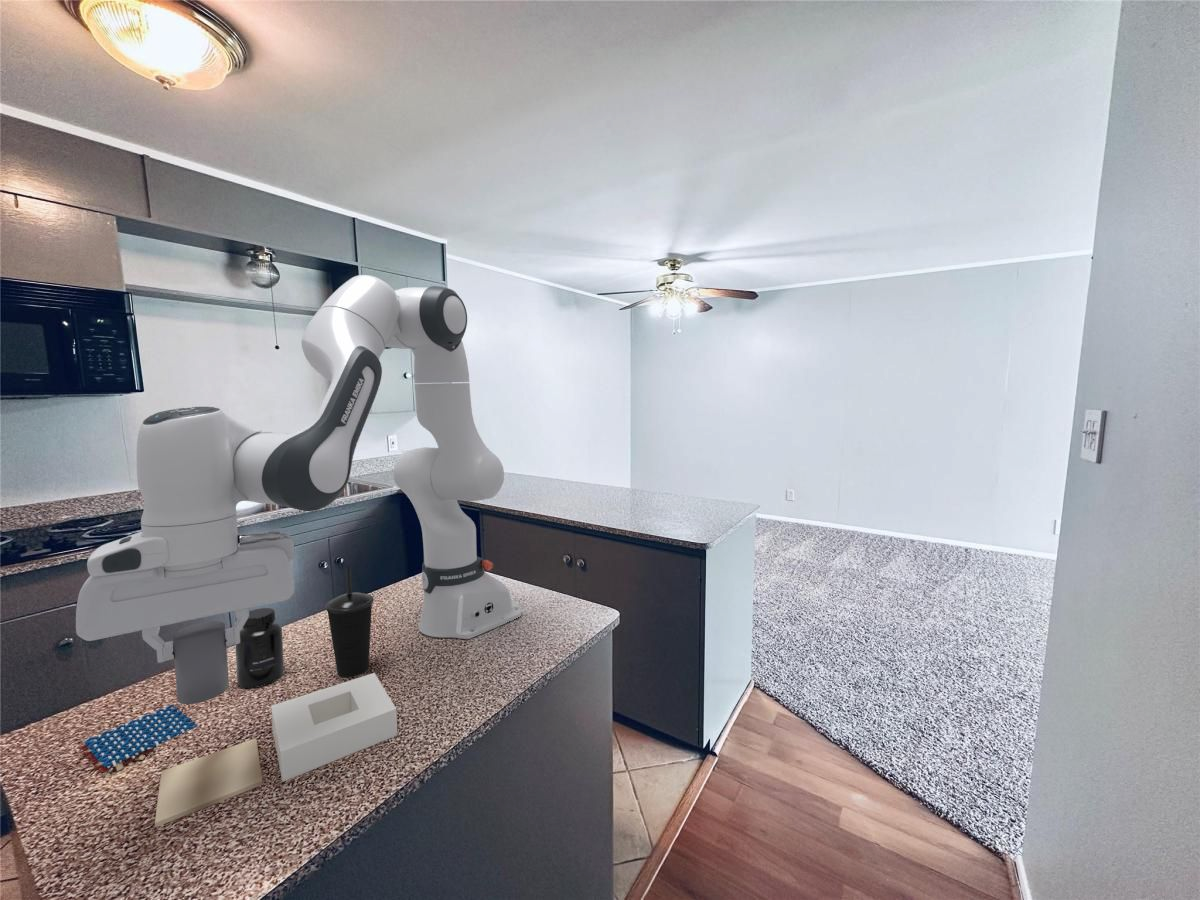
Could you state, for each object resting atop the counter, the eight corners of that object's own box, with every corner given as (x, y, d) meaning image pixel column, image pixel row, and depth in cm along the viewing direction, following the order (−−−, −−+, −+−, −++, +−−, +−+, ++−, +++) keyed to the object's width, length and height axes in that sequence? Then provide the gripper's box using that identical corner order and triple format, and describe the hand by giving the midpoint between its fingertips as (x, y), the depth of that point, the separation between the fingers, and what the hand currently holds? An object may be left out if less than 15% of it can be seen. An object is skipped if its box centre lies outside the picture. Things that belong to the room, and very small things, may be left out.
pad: (256, 747, 69) (256, 737, 69) (263, 791, 61) (262, 780, 61) (162, 781, 63) (161, 770, 63) (156, 835, 55) (154, 822, 55)
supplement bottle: (260, 691, 83) (256, 623, 82) (227, 686, 84) (222, 619, 83) (293, 670, 89) (289, 606, 88) (262, 665, 91) (258, 603, 90)
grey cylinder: (228, 676, 64) (224, 617, 64) (229, 694, 60) (225, 631, 60) (178, 690, 61) (173, 628, 61) (176, 709, 57) (171, 644, 57)
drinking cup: (345, 692, 83) (339, 577, 81) (320, 678, 87) (314, 569, 85) (385, 671, 89) (381, 564, 87) (360, 659, 93) (356, 557, 91)
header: (375, 701, 80) (374, 672, 79) (397, 741, 71) (396, 708, 70) (273, 738, 71) (270, 705, 71) (282, 788, 62) (280, 751, 61)
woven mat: (78, 753, 69) (76, 740, 69) (173, 713, 78) (172, 701, 78) (101, 784, 63) (100, 769, 63) (201, 736, 72) (200, 723, 72)
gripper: (290, 523, 68) (295, 619, 69) (78, 550, 55) (89, 667, 57) (296, 533, 63) (302, 636, 64) (65, 564, 50) (77, 692, 52)
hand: (200, 651), depth 60 cm, fingers closed on grey cylinder, 5 cm apart
